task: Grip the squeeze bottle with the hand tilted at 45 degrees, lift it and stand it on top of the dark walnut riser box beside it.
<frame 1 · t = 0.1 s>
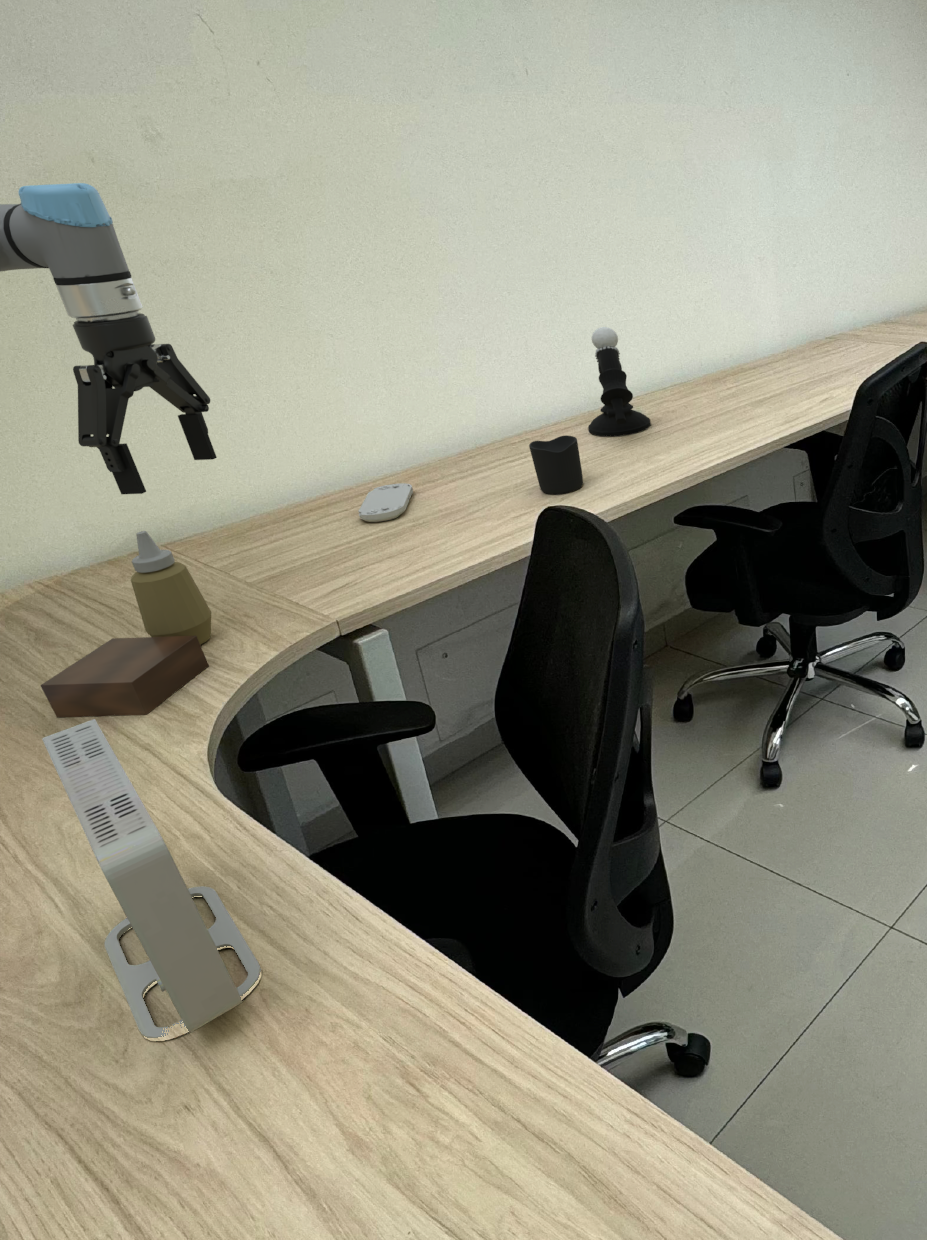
hand: (171, 475, 124), 27 cm above the table, tool pointing down, fingers open, 13 cm apart
riser: (136, 690, 124), on the table
squeeze bottle: (188, 643, 136), on the table
sculpture: (621, 432, 227), on the table
pen holder: (562, 488, 192), on the table
network device: (183, 961, 82), on the table
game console: (388, 508, 185), on the table
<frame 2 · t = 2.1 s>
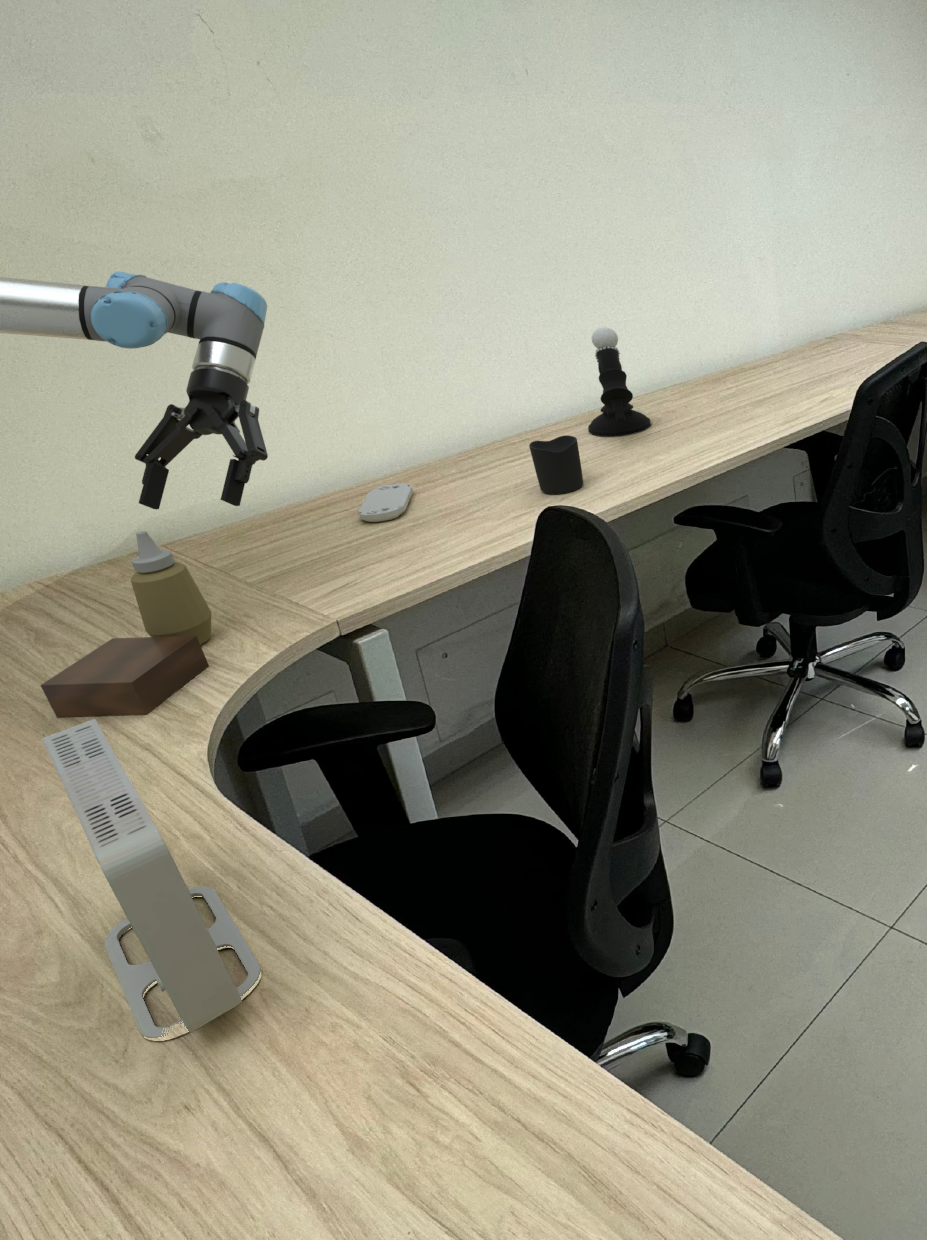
hand: (189, 504, 137), 19 cm above the table, tool tilted 45°, fingers open, 13 cm apart
nothing on the table moved.
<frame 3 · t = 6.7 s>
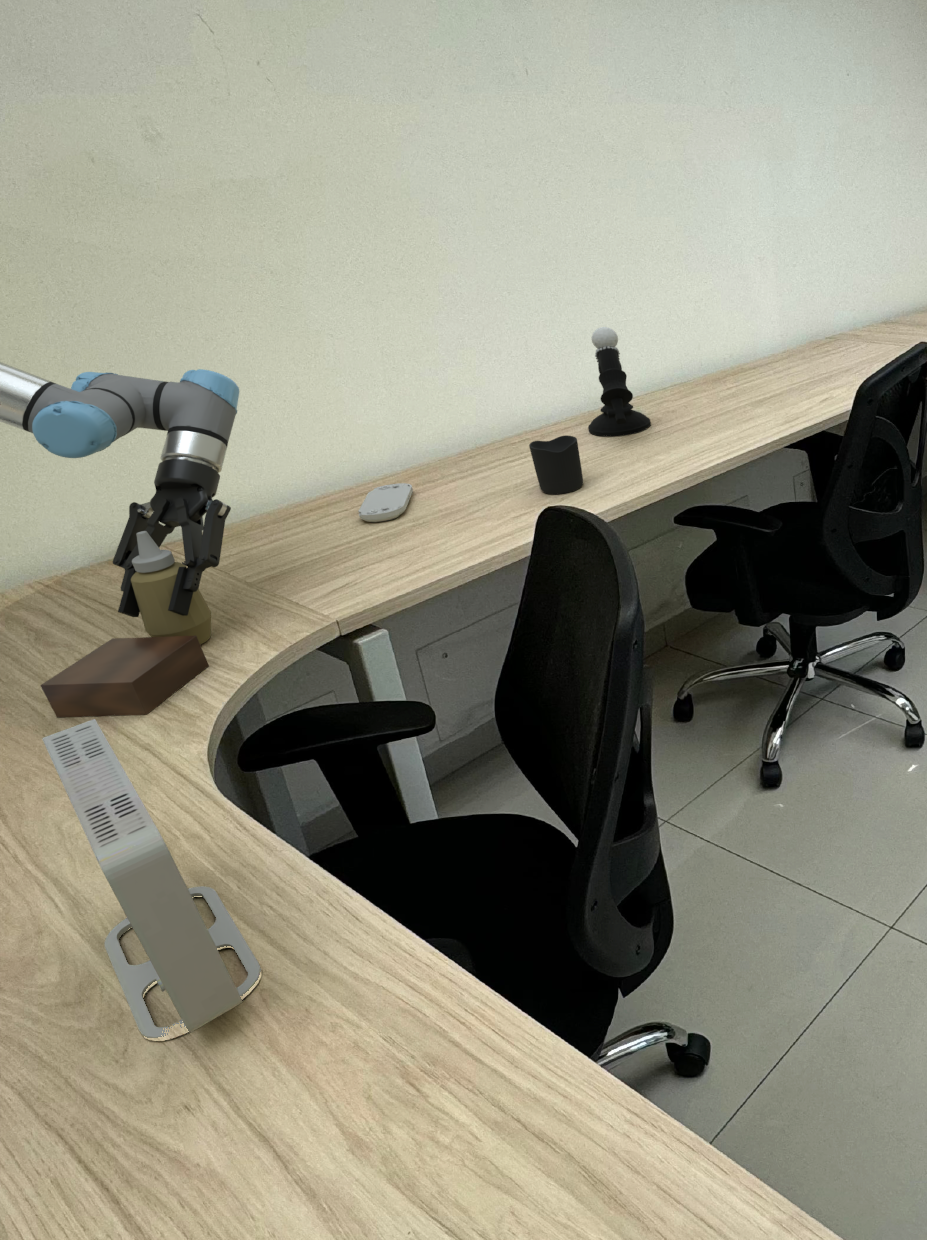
hand: (153, 613, 130), 7 cm above the table, tool tilted 45°, fingers closed on squeeze bottle, 6 cm apart
squeeze bottle: (188, 643, 136), on the table, touching gripper
everything else where it was.
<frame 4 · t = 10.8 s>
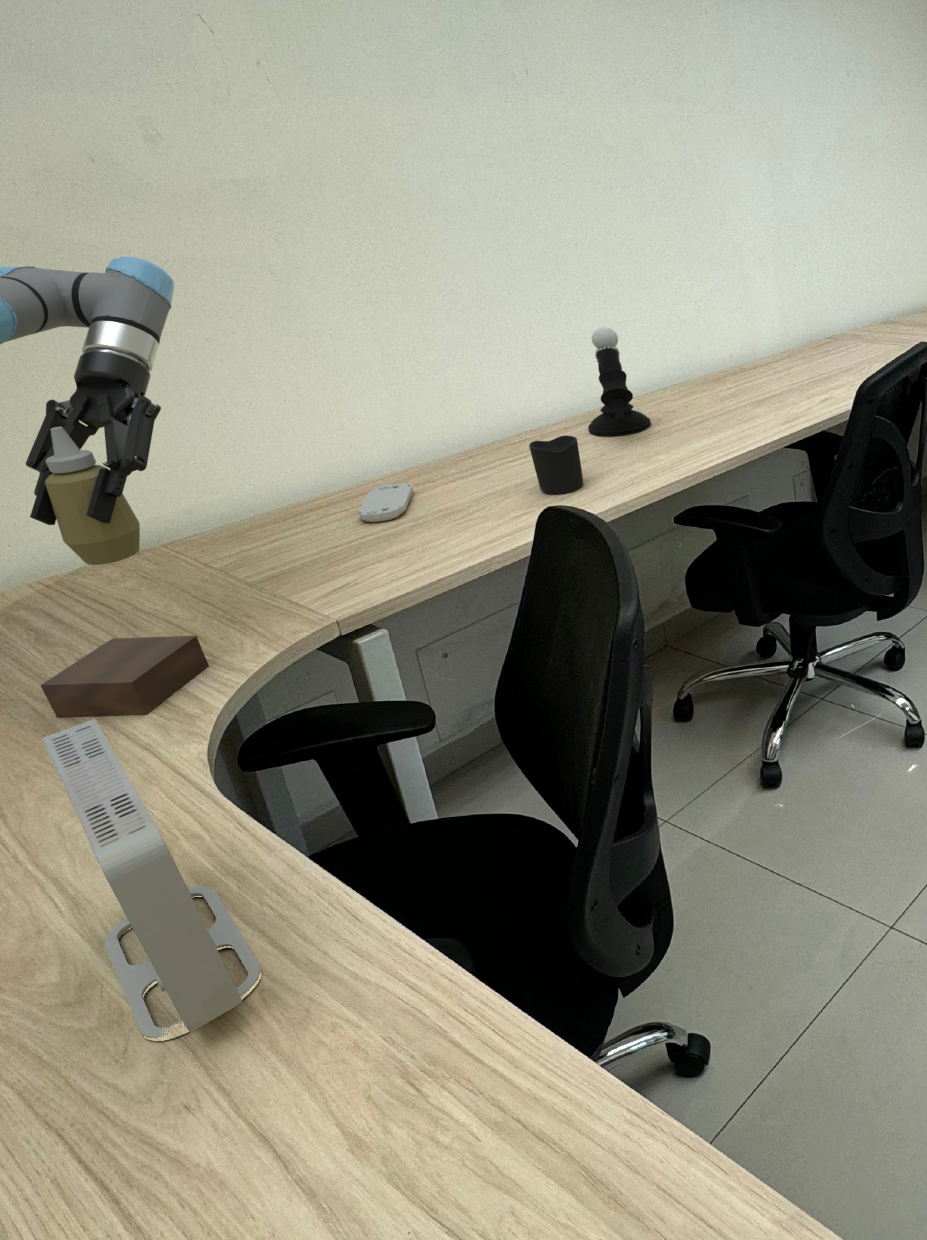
hand: (70, 519, 116), 24 cm above the table, tool tilted 45°, fingers closed on squeeze bottle, 6 cm apart
squeeze bottle: (113, 558, 123), point 17 cm above the table, touching gripper
everything else where it was.
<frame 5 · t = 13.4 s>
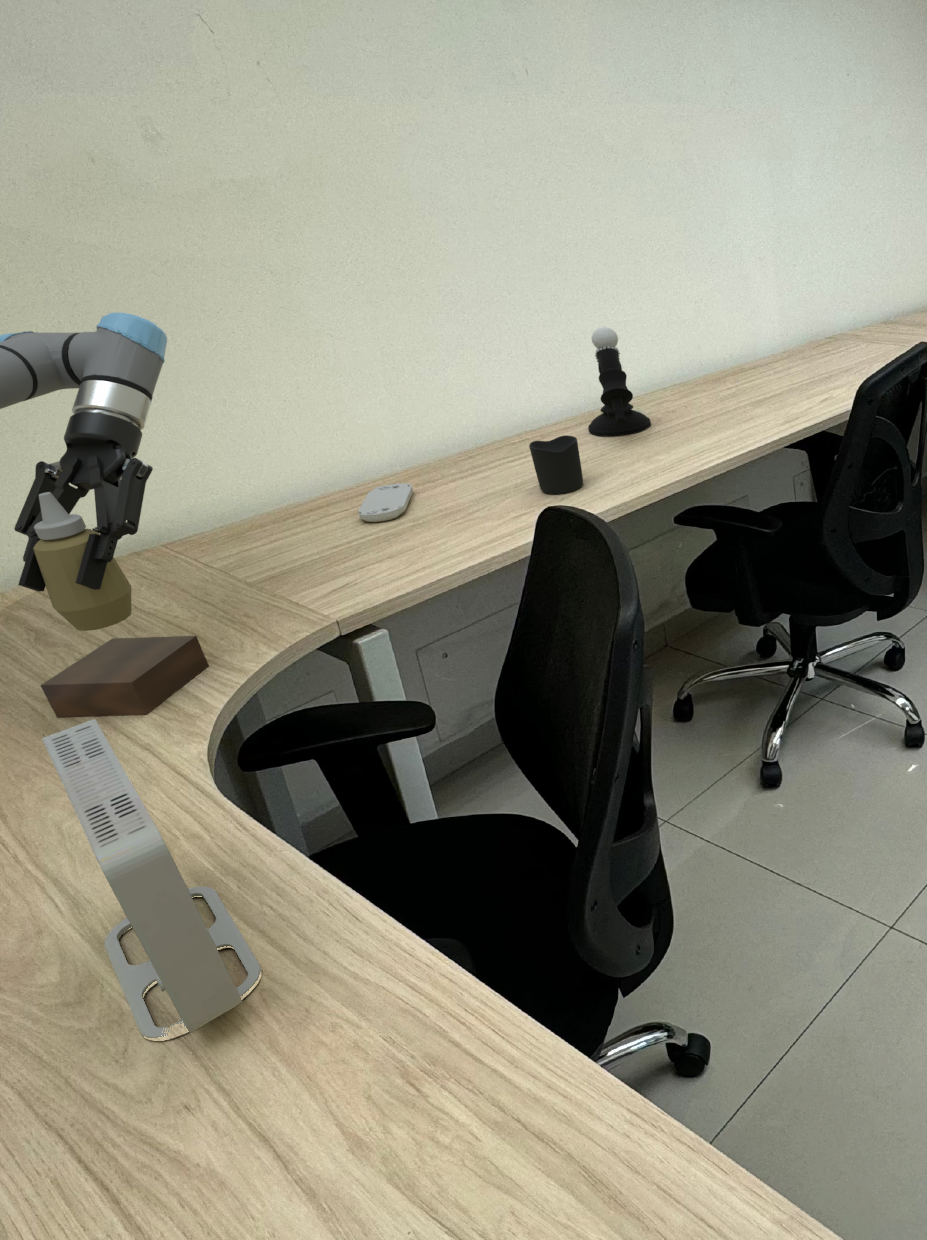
hand: (59, 586, 114), 18 cm above the table, tool tilted 45°, fingers closed on squeeze bottle, 6 cm apart
squeeze bottle: (105, 622, 120), point 11 cm above the table, touching gripper
everything else where it was.
when the fingers open (12 cm above the table, at t = 15.4 s): squeeze bottle stays where it is, resting on riser.
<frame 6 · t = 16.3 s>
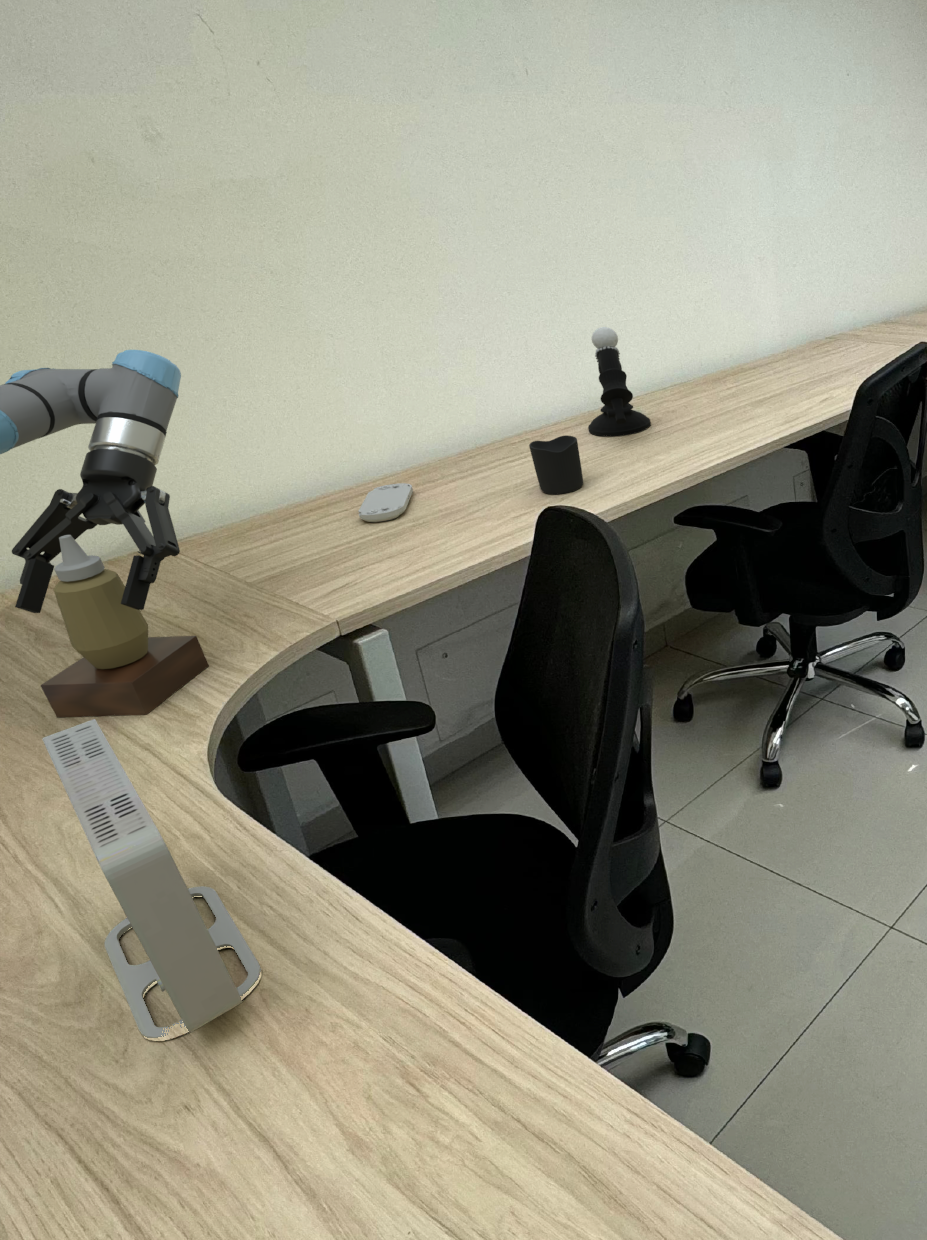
hand: (79, 608, 116), 14 cm above the table, tool tilted 45°, fingers open, 13 cm apart
squeeze bottle: (122, 660, 122), point 5 cm above the table, touching riser
everything else where it was.
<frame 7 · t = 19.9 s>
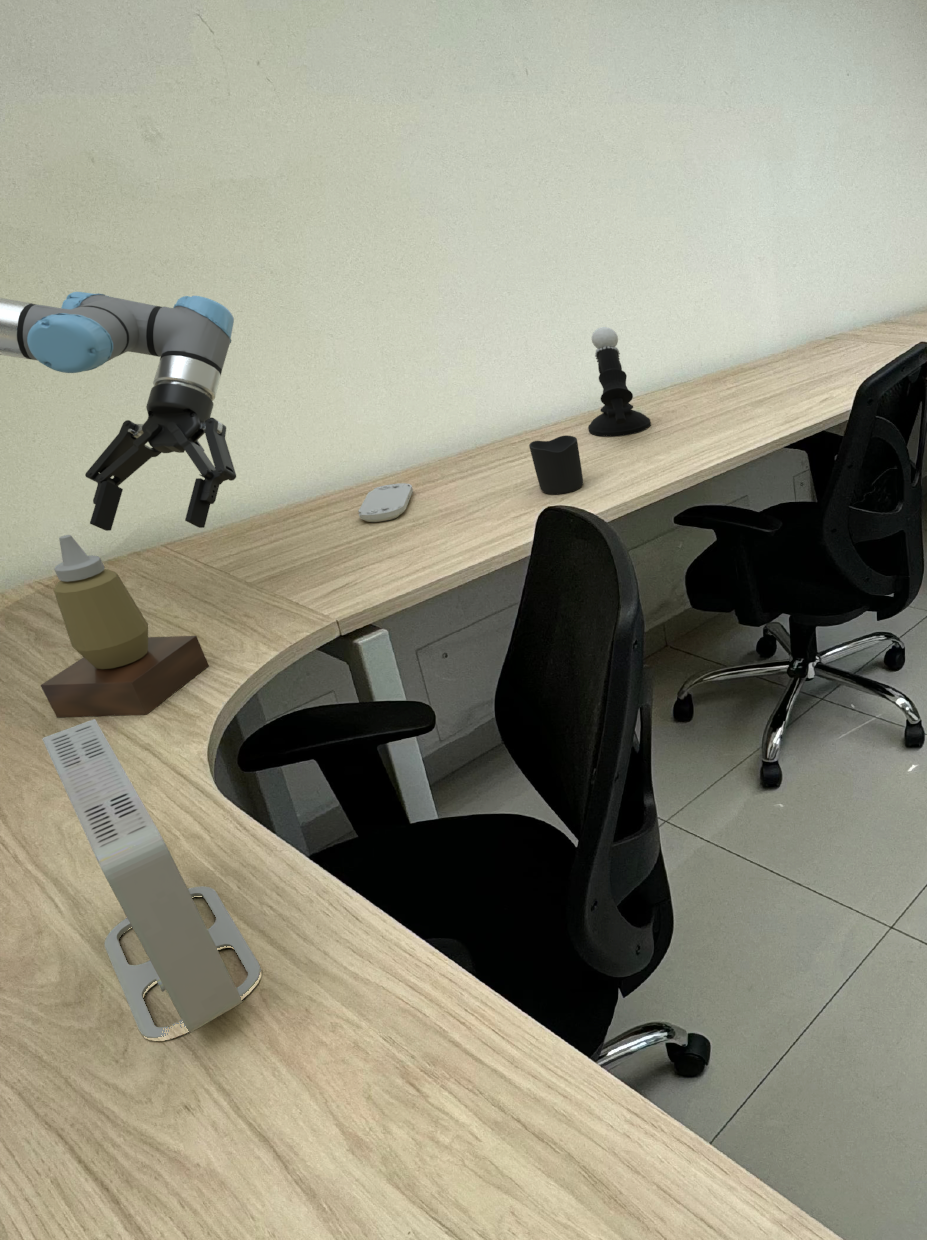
hand: (147, 525, 129), 19 cm above the table, tool tilted 45°, fingers open, 13 cm apart
nothing on the table moved.
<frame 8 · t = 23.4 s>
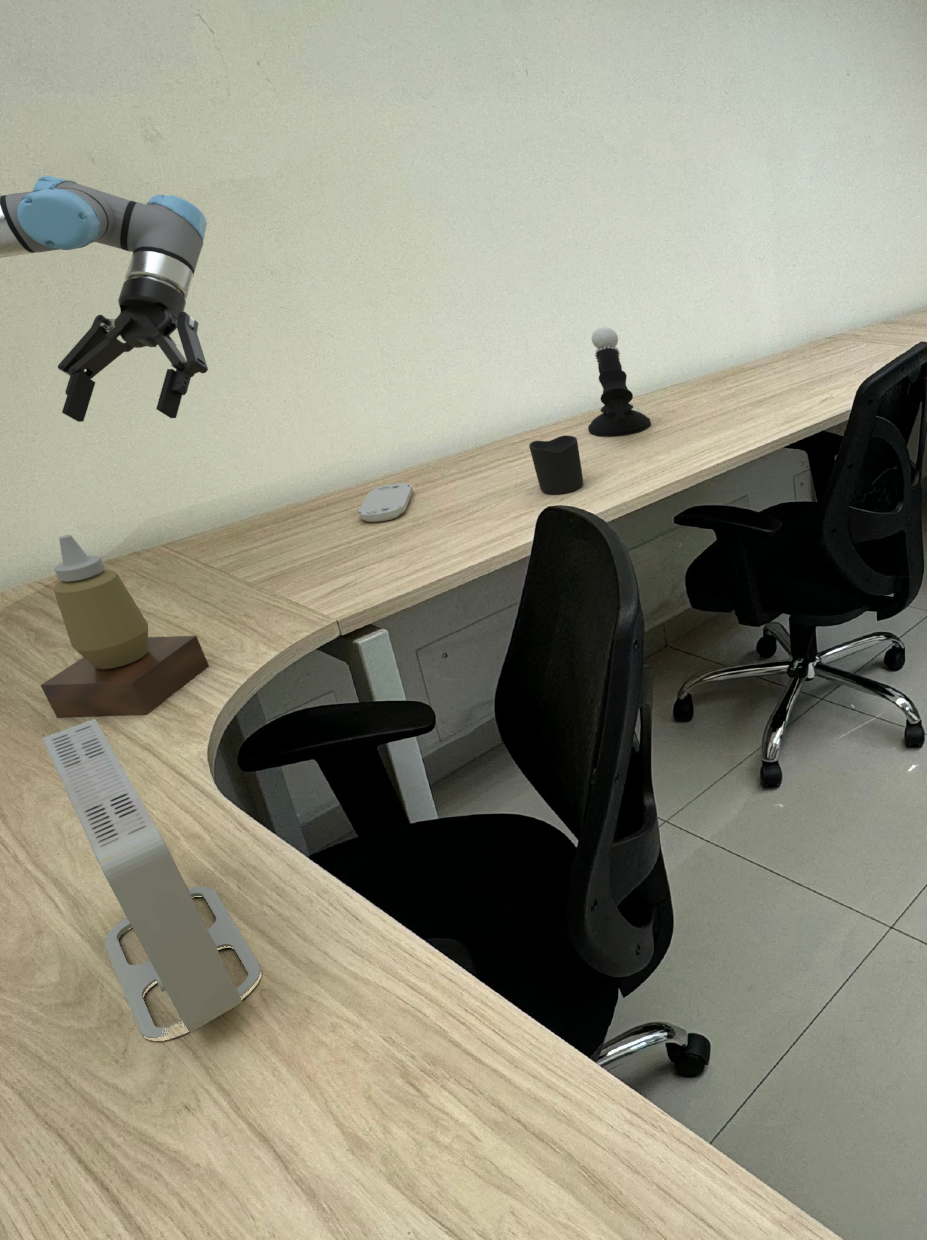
hand: (119, 415, 130), 33 cm above the table, tool tilted 45°, fingers open, 13 cm apart
nothing on the table moved.
at the end: squeeze bottle inside the target area on the riser (0.1 cm from its centre), point 4.8 cm above the riser's base; squeeze bottle tilted 0°; the gripper is holding nothing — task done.
